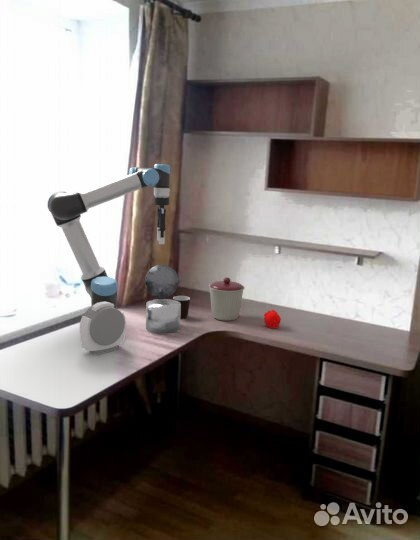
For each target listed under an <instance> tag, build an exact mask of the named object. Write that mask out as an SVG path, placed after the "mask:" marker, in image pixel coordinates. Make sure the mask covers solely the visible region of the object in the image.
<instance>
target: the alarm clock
mask: <svg viewBox="0 0 420 540" xmlns="http://www.w3.org/2000/svg"><path fill="white" fill-rule="evenodd" d="M126 323H127V321H126V316H125V313H124V312H123V311H121V310H120V309H118V308H117V309H116V308H114V304H112V303H109V302H106V301H105V302H99V303H96V304H94V305H93V306H91V305H90V307H89V308H87V310H86V311H85V312H84V314H83V315H81V318H80V323H79V335H80V343H81V347H82V348H83V349H85V350H87V351H88V352H89V353H91V354H92V355H94V356H97V355H102V354H105V353H109V352H113V351H116V350H118V349H119V345H122V344H123V343H125V337H126V329H127V324H126Z"/></svg>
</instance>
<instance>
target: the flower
mask: <svg viewBox="0 0 420 540" xmlns="http://www.w3.org/2000/svg"><path fill="white" fill-rule="evenodd" d="M263 320H264V323H265V326H266V328H269V329H278V327H279V326H280V324H281V320H282V319H281V316H280V314H278V312H277V311H276V310H275V309H271V310H268V311H267V312H265V313H264V315H263Z"/></svg>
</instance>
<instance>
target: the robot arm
mask: <svg viewBox="0 0 420 540" xmlns="http://www.w3.org/2000/svg"><path fill="white" fill-rule="evenodd" d="M170 168H171V167H170V165H169V164H162V163H155V164H154V166H153V167H138V166H137V167H130V168H129V171H128V174H127V175H125V176H123V177H120V178H117V179H114V180H112V181H108V182H106V183H104V184H100V185H98V186H95V187H92V188H90V189H87V190H84V191H80V190H77V191H74V192H70V193H68V192H66V191H57V192H54V193H53V194H51V195H50V196H49V198H48V200H47V209H48V211H49V213H51V216H52V218H53V220H54V223H55V224H56V226H57V227H59V228H61V229H62V232H63V233H64V236H65V239H66V240H67V243H68V245H69V247H70V249H71V251H72V253H73V255H74V258H75V260H76V262H77V264H78V266H79V268H80V270H81V281H82V283H83V285H84V287H85V291H86V293H87V294H88V295H89V297H90V302H91V303H90V304H91V305H90V307H91V306H93V305H94V304H96V303H99V302H105V301H106V302H109V303H112V304H114V308H116V309H118V290H119V289H118V288H119V287H118V282H117V279H115V278H113V277H110V276H108V274H107V272H106V269H105V268H104V267H102V266H100V264H99V262H98V259H97V257H96V255H95V253H94V251H93V249H92V245H91V244H90V242H89V239H88V237H87V234H86V232H85V230H84V228H83V226H82V223H81V221H80V220H81V217H82V215H83V214H84V213H87V212H88V211H89V209H91V208H94V207H96V206H99V205H101V204H104V203H108V202H110V201H112V200H115V199H118V198H120V197H122V196H126V195H129V194H130V193H131V194H132V193H133V192H136V191H139V190H141V189H144V188H148V187H153V196H154V197H153V205H154V206H157V209H156V214H157V215H156V216H157V220H156V227H157V228H156V230H157V231H156V233H157V234H156V241H157V242H158V245H165V244H166V242H165V241H166V240H165V239H166V237H165V236H166V212H167V209H166V208H165V206H169V205H170V193H171V189H170V185H171V184H170V182H171V169H170Z"/></svg>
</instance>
